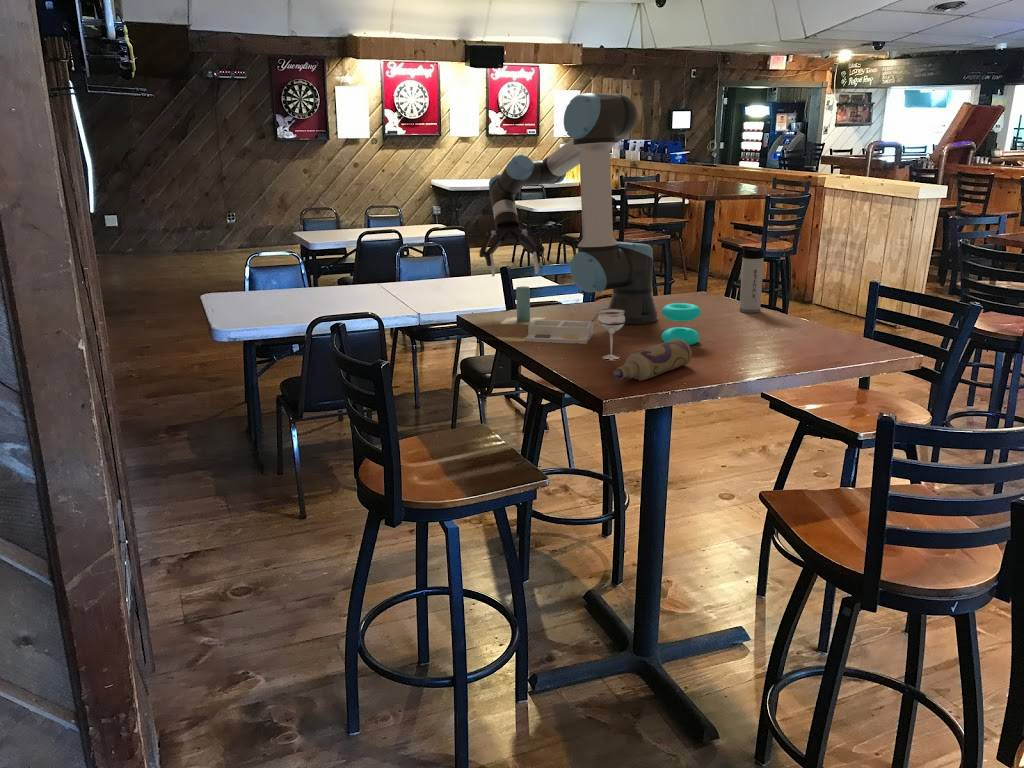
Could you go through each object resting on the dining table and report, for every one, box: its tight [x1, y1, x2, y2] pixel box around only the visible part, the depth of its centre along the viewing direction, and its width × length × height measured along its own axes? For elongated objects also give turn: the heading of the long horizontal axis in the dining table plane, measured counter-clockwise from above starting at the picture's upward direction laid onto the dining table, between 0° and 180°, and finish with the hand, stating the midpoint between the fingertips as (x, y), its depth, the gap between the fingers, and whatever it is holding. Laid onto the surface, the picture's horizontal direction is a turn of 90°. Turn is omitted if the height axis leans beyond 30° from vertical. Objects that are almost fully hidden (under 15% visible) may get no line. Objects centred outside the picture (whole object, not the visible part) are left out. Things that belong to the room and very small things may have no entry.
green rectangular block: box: [515, 285, 531, 322], centre depth 246 cm, size 4×4×10 cm
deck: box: [499, 316, 547, 326], centre depth 248 cm, size 12×10×1 cm
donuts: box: [661, 302, 702, 346], centre depth 221 cm, size 10×10×10 cm
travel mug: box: [739, 245, 765, 314], centre depth 256 cm, size 6×7×20 cm
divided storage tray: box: [524, 319, 594, 345], centre depth 230 cm, size 17×12×4 cm
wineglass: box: [597, 308, 625, 361], centre depth 207 cm, size 7×7×12 cm
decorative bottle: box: [612, 339, 693, 381], centre depth 193 cm, size 26×8×7 cm, turn 134°
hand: (515, 272), depth 253 cm, fingers open, 13 cm apart
